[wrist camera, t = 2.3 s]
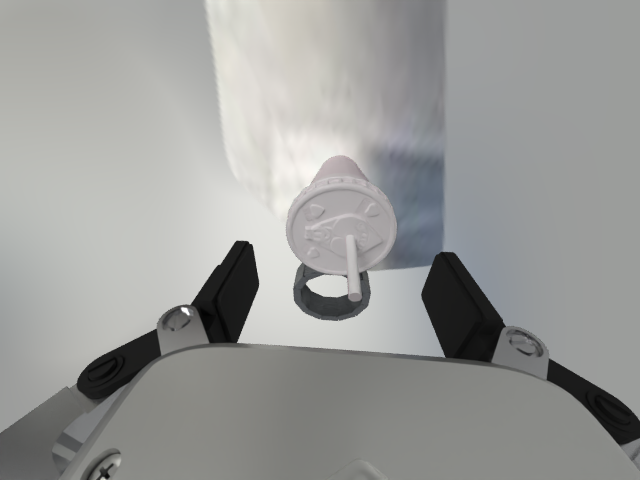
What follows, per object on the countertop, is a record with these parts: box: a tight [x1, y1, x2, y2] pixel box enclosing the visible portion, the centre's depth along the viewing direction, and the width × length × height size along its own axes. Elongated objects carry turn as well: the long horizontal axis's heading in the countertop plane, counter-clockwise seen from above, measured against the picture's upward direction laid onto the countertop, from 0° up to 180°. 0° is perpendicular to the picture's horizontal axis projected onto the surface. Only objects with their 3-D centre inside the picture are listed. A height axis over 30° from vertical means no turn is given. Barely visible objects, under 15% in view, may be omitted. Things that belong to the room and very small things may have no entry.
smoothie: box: [286, 156, 397, 301], centre depth 15 cm, size 6×6×14 cm
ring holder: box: [293, 262, 371, 321], centre depth 27 cm, size 9×9×3 cm
